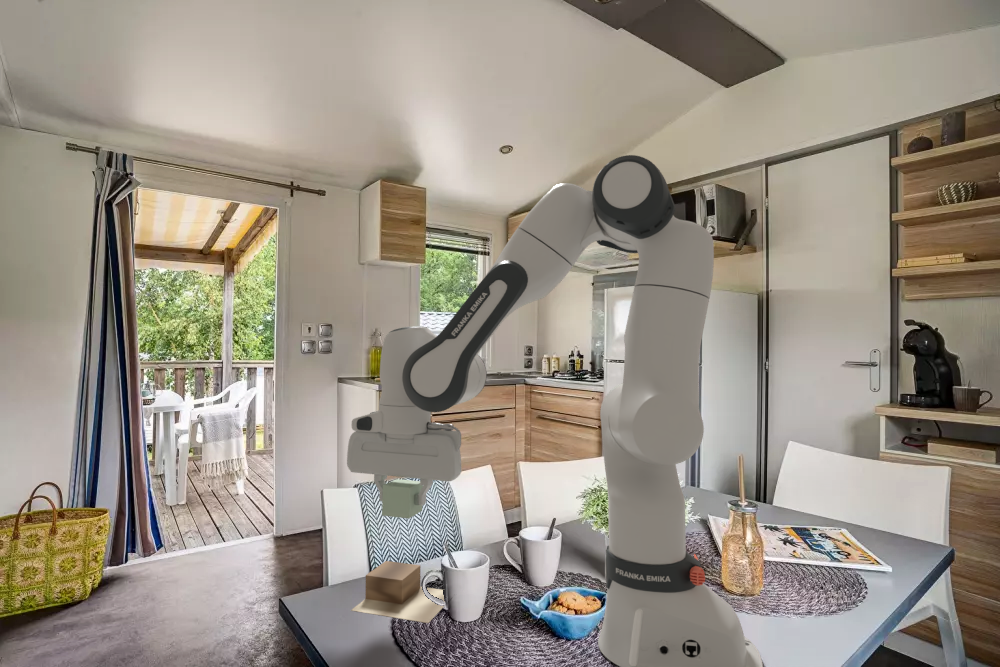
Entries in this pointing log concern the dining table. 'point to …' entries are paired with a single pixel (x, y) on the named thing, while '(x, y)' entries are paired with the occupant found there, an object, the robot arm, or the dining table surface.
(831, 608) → the dining table surface
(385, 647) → the dining table surface
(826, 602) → the dining table surface
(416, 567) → the walnut base
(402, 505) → the sage cube
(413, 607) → the birch board
